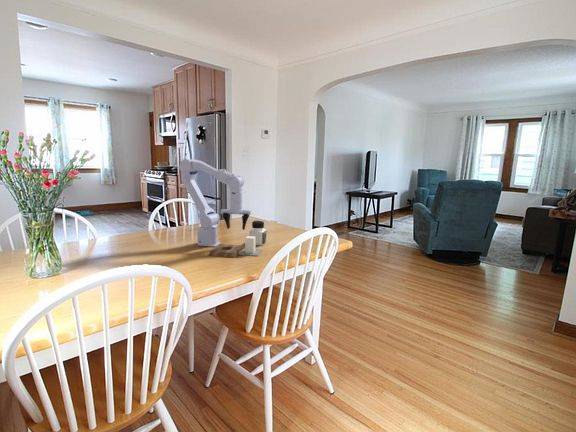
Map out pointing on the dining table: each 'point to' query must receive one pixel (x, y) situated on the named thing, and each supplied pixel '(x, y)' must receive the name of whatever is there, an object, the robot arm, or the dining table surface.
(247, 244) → the peg
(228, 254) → the pocket block
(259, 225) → the white bottle
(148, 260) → the dining table surface
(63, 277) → the dining table surface
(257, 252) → the mat
